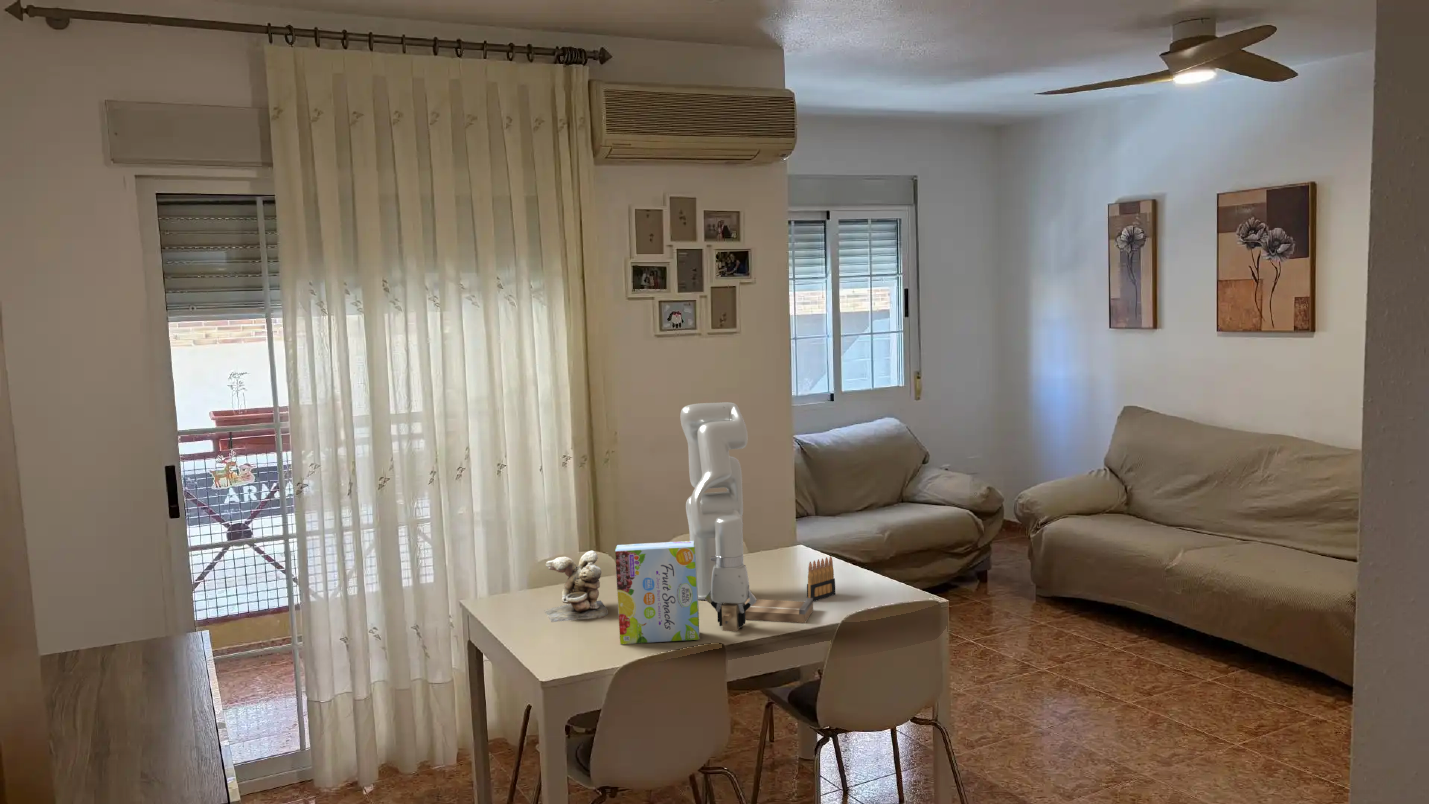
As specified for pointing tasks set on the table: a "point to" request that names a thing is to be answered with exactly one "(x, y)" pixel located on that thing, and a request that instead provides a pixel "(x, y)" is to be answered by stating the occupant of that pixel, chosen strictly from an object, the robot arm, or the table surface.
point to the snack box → (657, 592)
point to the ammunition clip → (821, 580)
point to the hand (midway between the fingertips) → (731, 624)
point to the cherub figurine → (578, 589)
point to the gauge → (730, 617)
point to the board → (780, 610)
